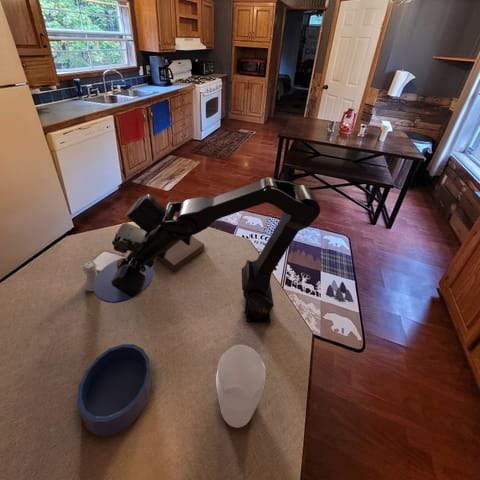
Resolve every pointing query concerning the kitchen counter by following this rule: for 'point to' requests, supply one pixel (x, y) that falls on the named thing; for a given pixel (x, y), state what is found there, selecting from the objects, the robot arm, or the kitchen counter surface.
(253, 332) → the kitchen counter surface
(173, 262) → the trivet
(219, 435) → the kitchen counter surface
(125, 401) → the tin
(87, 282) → the rook chess piece
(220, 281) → the kitchen counter surface
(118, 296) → the lid
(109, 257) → the smartphone
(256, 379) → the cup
